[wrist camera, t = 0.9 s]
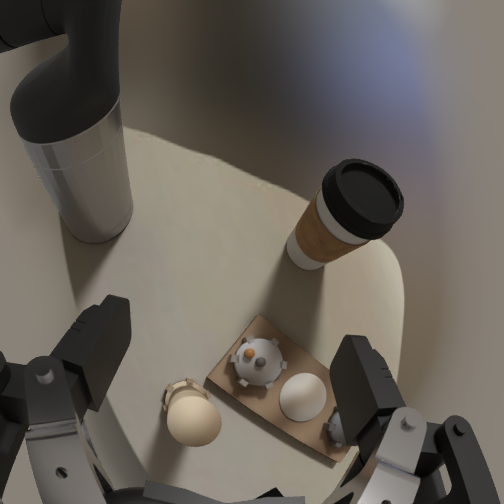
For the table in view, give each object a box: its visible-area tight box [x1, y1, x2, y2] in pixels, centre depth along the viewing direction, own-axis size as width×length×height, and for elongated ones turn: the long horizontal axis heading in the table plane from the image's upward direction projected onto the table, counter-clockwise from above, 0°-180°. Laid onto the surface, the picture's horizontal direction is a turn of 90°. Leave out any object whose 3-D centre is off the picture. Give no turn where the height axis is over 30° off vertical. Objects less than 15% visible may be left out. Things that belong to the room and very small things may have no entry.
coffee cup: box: [287, 159, 404, 270], centre depth 31 cm, size 8×8×15 cm
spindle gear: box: [163, 378, 221, 447], centre depth 21 cm, size 5×5×12 cm
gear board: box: [207, 314, 351, 463], centre depth 28 cm, size 20×9×3 cm, turn 52°
